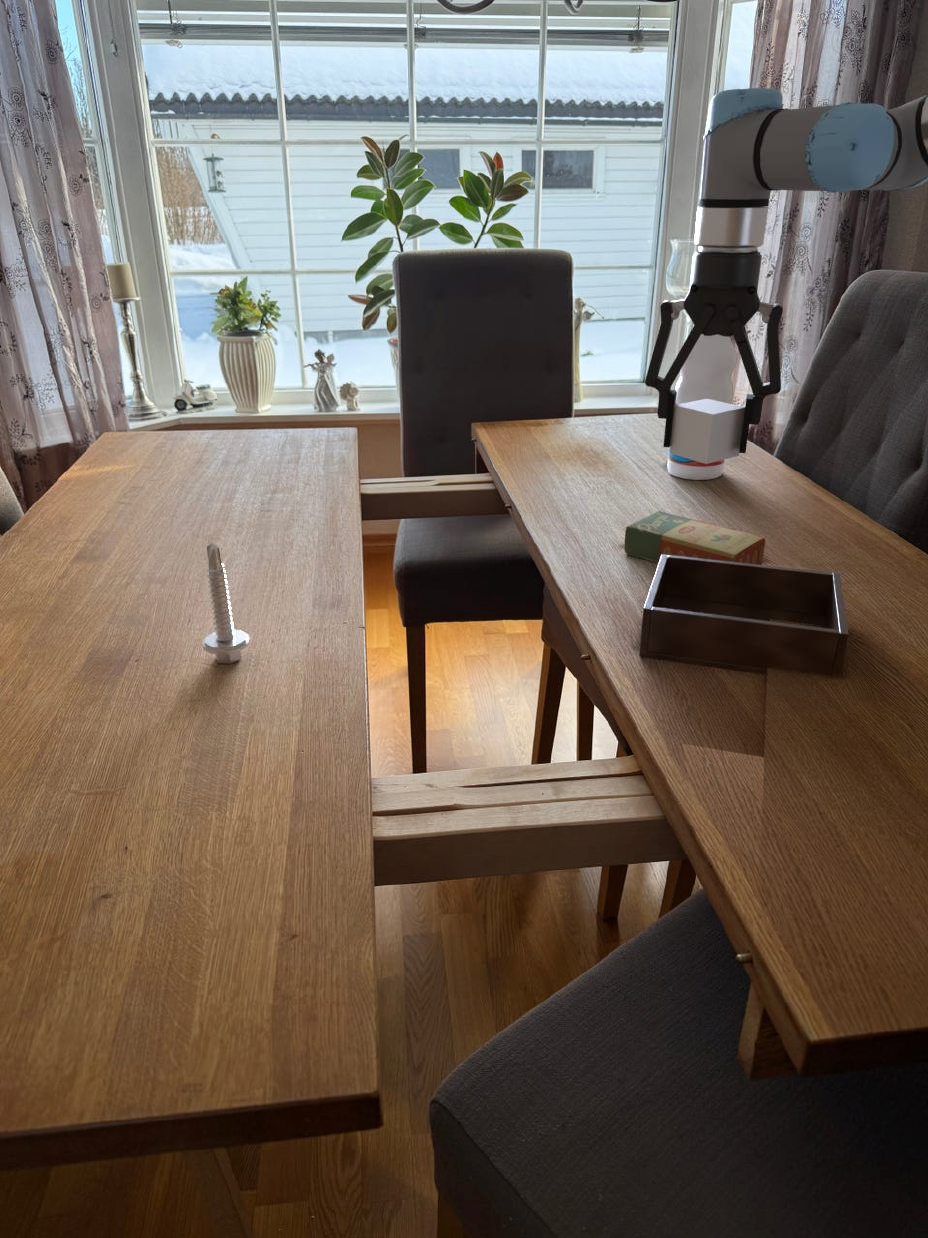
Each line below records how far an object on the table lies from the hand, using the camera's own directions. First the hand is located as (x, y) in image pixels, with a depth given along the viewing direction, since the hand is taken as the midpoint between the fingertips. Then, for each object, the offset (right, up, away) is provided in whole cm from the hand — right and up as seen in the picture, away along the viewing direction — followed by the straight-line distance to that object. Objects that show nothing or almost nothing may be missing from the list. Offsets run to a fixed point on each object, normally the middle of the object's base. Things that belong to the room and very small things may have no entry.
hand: (704, 447), depth 109 cm
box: (0, -23, -13) cm, 26 cm away
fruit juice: (+10, +4, +42) cm, 43 cm away
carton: (0, -14, +7) cm, 16 cm away
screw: (-55, -26, -16) cm, 63 cm away
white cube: (0, -1, +1) cm, 1 cm away
